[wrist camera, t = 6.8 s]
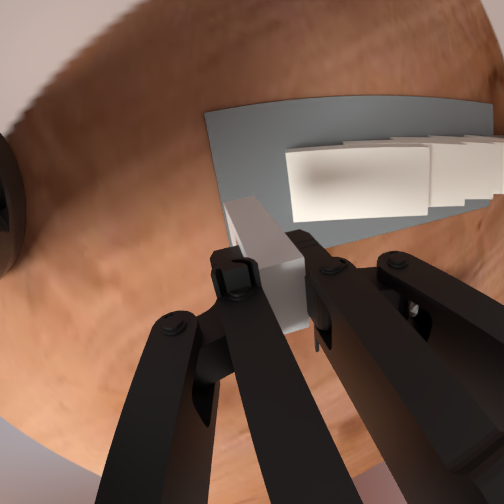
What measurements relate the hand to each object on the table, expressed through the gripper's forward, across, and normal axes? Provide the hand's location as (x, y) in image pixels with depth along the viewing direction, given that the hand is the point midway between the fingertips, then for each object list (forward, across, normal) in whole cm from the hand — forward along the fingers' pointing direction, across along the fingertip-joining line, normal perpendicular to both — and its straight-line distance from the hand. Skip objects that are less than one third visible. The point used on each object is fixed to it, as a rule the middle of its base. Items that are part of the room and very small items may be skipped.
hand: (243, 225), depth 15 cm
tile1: (+6, +4, 0) cm, 8 cm away
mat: (+7, +15, -1) cm, 16 cm away
